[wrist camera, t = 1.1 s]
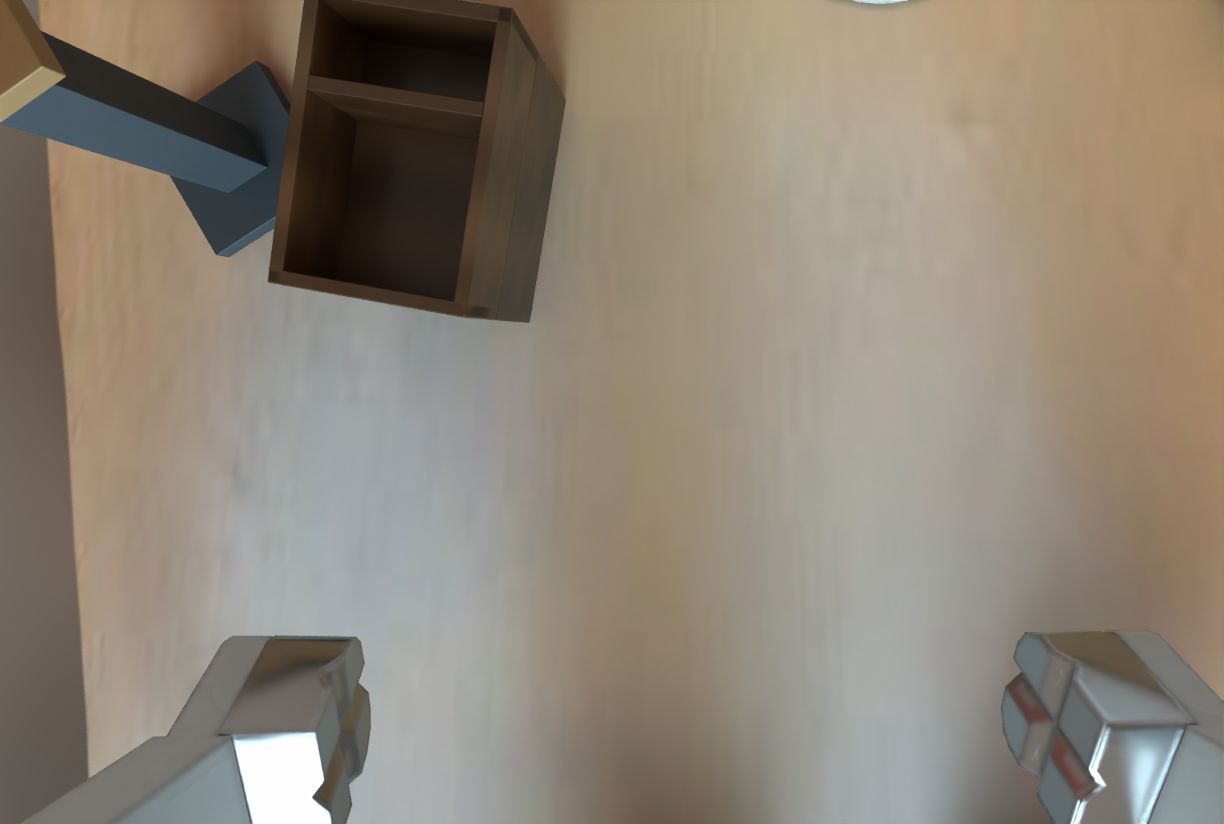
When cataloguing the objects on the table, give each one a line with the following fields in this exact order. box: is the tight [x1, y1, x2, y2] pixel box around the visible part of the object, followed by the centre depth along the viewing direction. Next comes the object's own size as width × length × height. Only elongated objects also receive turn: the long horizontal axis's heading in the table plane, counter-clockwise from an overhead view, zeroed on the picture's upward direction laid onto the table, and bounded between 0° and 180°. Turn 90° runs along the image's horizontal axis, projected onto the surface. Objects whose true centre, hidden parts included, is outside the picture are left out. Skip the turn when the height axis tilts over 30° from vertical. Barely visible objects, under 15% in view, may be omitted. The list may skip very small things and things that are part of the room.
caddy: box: [268, 0, 566, 323], centre depth 47 cm, size 14×10×15 cm
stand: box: [0, 0, 290, 257], centre depth 43 cm, size 9×9×25 cm
